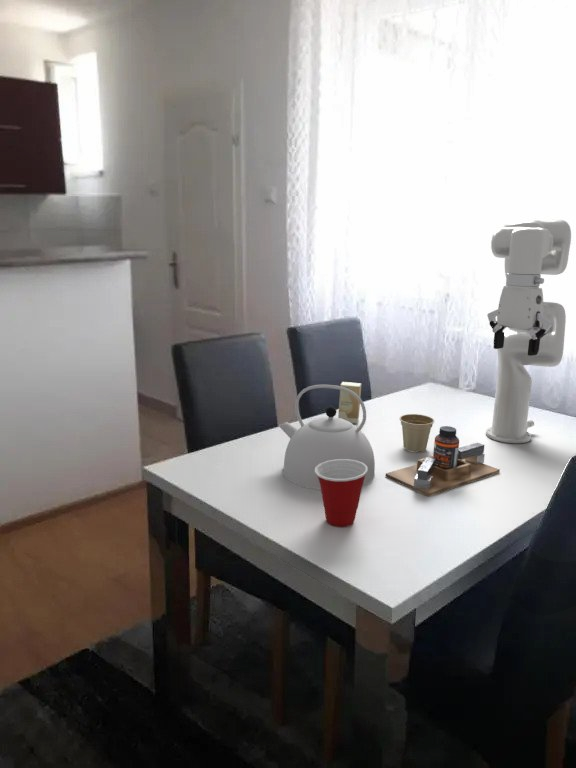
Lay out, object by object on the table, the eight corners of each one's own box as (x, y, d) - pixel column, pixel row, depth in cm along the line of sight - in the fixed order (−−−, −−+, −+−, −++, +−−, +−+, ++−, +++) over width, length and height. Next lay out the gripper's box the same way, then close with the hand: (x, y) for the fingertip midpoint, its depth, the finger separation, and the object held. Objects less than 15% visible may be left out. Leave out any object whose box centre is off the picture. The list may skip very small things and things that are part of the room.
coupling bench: (455, 455, 168) (456, 444, 167) (499, 472, 157) (500, 460, 156) (385, 476, 153) (386, 463, 153) (428, 496, 142) (429, 483, 142)
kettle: (260, 480, 150) (261, 389, 144) (293, 450, 170) (295, 370, 165) (361, 498, 141) (366, 402, 136) (383, 464, 162) (388, 379, 156)
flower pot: (432, 456, 168) (434, 425, 166) (397, 453, 170) (399, 422, 167) (431, 444, 177) (434, 415, 175) (398, 441, 178) (400, 412, 176)
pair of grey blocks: (473, 458, 164) (475, 441, 163) (499, 467, 158) (500, 450, 157) (398, 481, 149) (400, 463, 148) (423, 492, 142) (425, 473, 141)
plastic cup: (310, 510, 134) (311, 457, 132) (359, 509, 135) (362, 457, 132) (316, 534, 124) (318, 477, 121) (370, 532, 125) (373, 476, 122)
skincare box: (337, 422, 195) (339, 384, 192) (339, 418, 199) (341, 381, 196) (358, 424, 194) (360, 386, 191) (359, 420, 198) (361, 382, 195)
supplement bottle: (429, 473, 153) (433, 430, 151) (434, 465, 159) (437, 423, 156) (454, 477, 151) (458, 433, 148) (458, 469, 156) (462, 426, 154)
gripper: (565, 283, 145) (556, 356, 149) (501, 278, 158) (494, 344, 162) (546, 285, 140) (537, 359, 145) (482, 279, 154) (476, 347, 158)
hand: (515, 351), depth 153 cm, fingers open, 9 cm apart
